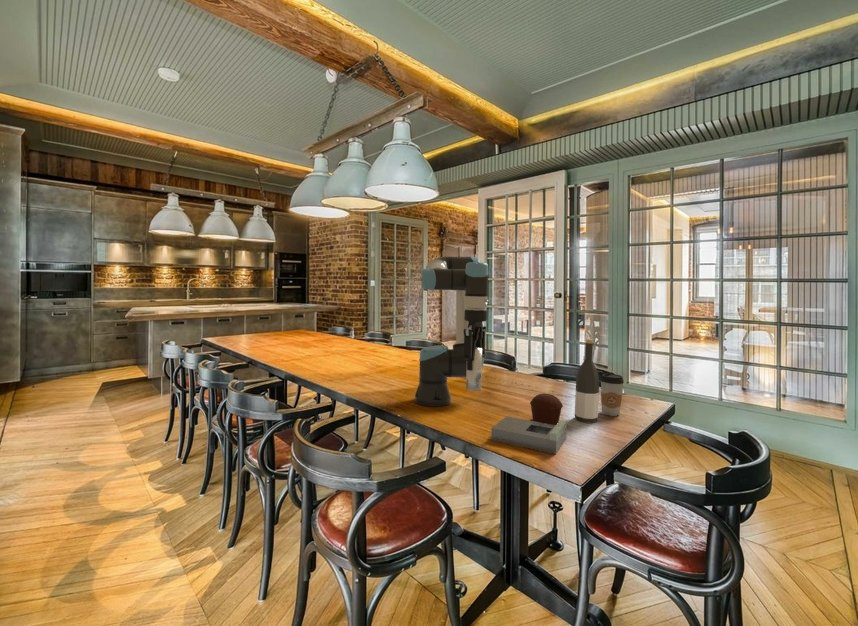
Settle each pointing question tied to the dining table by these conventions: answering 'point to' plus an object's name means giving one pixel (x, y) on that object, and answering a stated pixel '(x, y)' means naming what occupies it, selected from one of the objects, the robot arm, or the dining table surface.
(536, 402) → the muffin
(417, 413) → the dining table surface
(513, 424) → the jig
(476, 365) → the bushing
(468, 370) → the robot arm
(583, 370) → the wine bottle
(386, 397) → the dining table surface
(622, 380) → the coffee cup
